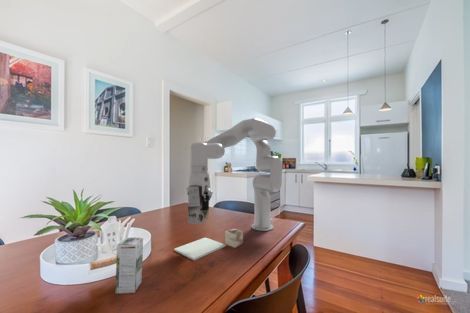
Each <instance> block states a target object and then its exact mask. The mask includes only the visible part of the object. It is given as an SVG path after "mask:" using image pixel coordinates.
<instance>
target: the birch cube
mask: <svg viewBox="0 0 470 313" xmlns="http://www.w3.org/2000/svg"><path fill="white" fill-rule="evenodd" d="M224 233H225V234H224V235H225V237H224V238H225V240H224V241H225V242H224V244H225V246H229V247H231V248H235V249H236V248H237V247H240V246H241V245H243V244H244V230H239V229H237V228H231V229H229V230H226V231H224Z"/></svg>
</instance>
